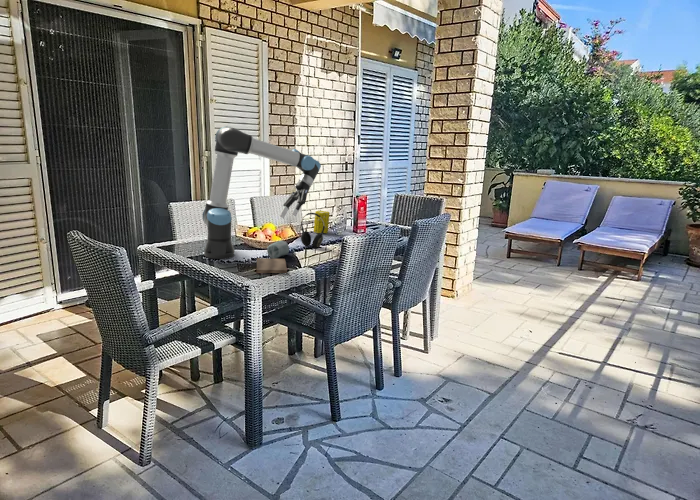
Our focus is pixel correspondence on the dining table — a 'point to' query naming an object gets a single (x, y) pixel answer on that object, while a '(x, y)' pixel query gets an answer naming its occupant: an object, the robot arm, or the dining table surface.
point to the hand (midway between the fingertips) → (287, 216)
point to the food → (319, 223)
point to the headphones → (307, 238)
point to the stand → (271, 265)
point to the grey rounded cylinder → (278, 249)
